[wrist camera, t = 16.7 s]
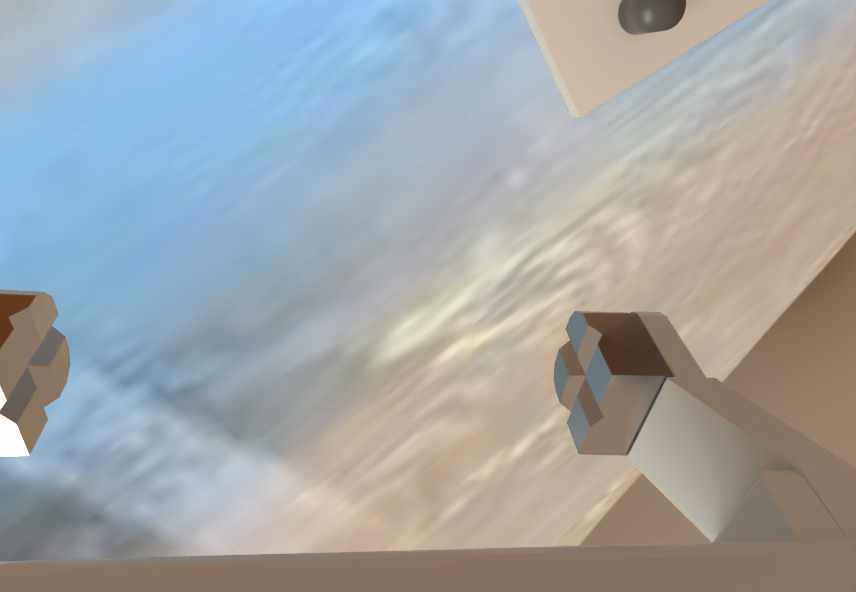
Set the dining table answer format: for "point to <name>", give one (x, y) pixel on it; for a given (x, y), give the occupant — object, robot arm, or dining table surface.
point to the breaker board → (620, 40)
